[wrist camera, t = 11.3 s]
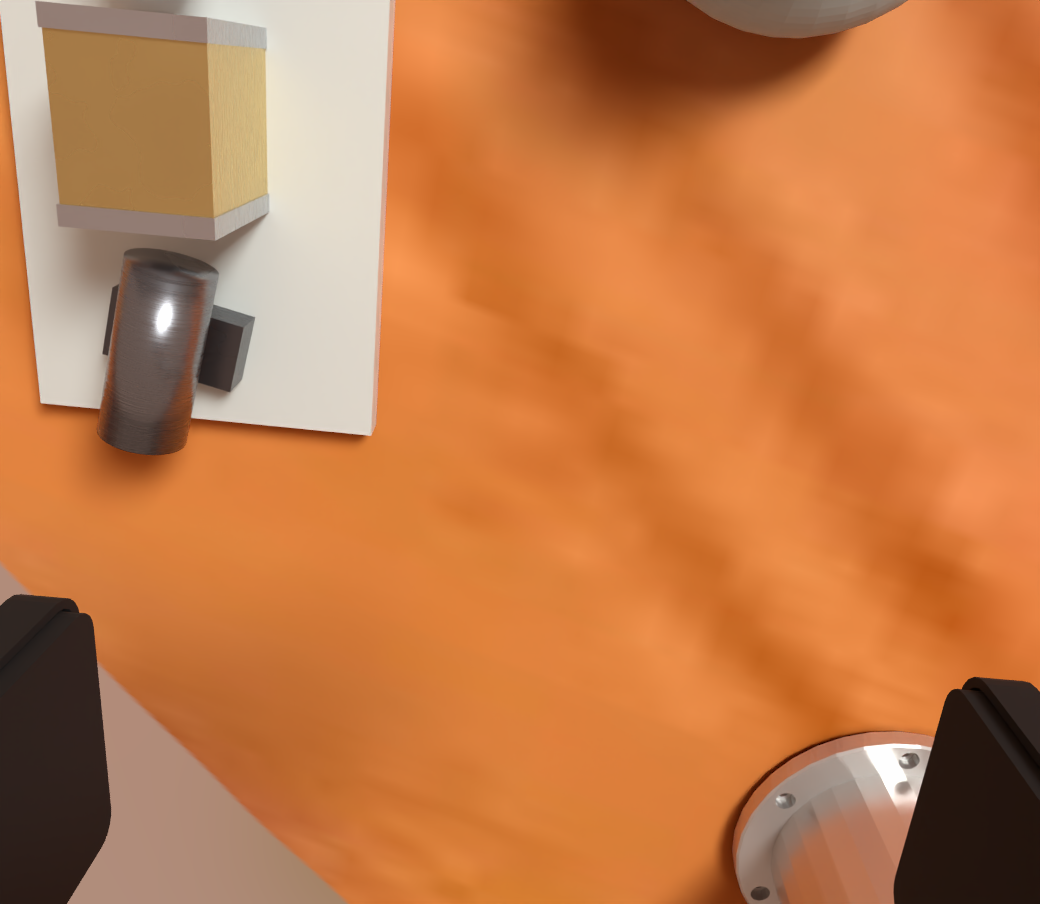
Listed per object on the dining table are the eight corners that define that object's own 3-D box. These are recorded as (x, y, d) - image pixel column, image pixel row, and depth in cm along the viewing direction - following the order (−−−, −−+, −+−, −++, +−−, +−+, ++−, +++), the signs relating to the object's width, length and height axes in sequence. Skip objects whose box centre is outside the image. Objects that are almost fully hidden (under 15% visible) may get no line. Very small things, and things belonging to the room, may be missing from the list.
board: (376, 424, 35) (371, 435, 34) (56, 392, 34) (40, 402, 33) (406, -246, 27) (400, -260, 26) (-10, -297, 26) (-34, -313, 25)
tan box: (127, 14, 28) (35, 1, 23) (266, 27, 28) (206, 17, 23) (139, 200, 30) (58, 226, 25) (269, 212, 31) (215, 240, 25)
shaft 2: (232, 424, 33) (193, 470, 30) (112, 389, 33) (56, 430, 29) (265, 268, 31) (228, 295, 27) (137, 227, 31) (81, 250, 27)
